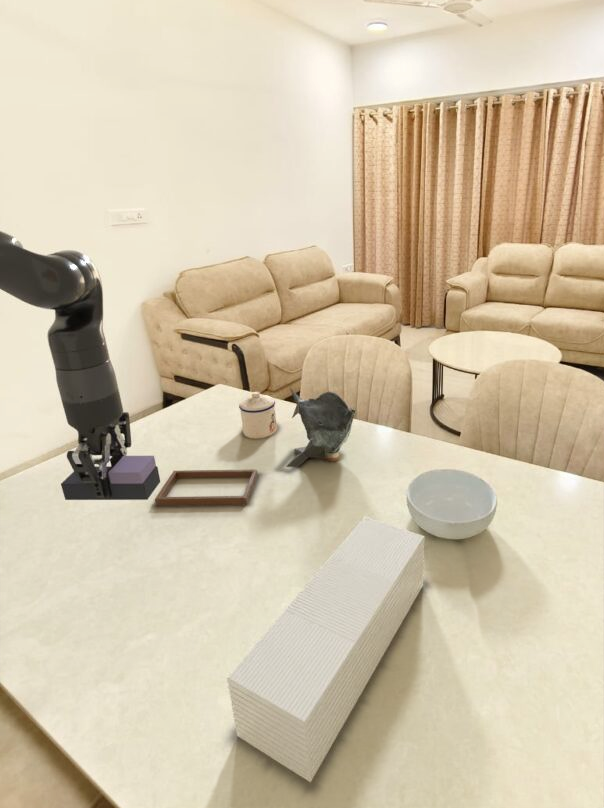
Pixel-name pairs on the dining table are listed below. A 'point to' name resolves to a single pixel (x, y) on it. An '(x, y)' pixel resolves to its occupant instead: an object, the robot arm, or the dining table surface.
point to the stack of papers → (326, 646)
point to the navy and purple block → (119, 480)
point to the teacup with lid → (258, 416)
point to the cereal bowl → (451, 503)
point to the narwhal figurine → (322, 426)
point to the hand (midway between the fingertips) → (113, 486)
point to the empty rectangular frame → (206, 500)
